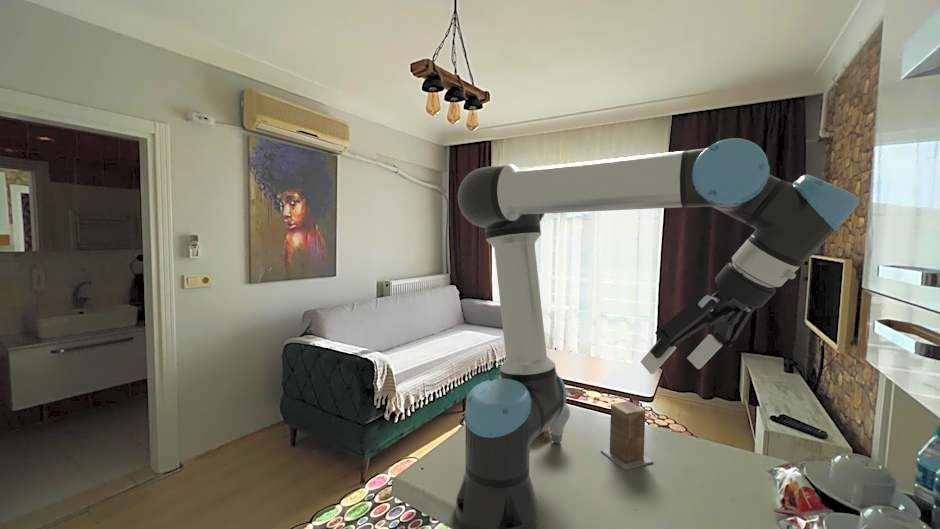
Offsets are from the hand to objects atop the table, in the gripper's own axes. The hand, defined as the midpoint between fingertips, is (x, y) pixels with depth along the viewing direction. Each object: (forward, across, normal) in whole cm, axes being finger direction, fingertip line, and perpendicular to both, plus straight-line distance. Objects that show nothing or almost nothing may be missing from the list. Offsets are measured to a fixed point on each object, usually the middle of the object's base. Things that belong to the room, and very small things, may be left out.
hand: (671, 365), depth 70 cm
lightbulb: (+39, +1, +8) cm, 40 cm away
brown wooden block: (+31, +11, -2) cm, 33 cm away
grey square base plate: (+31, +11, -2) cm, 33 cm away
